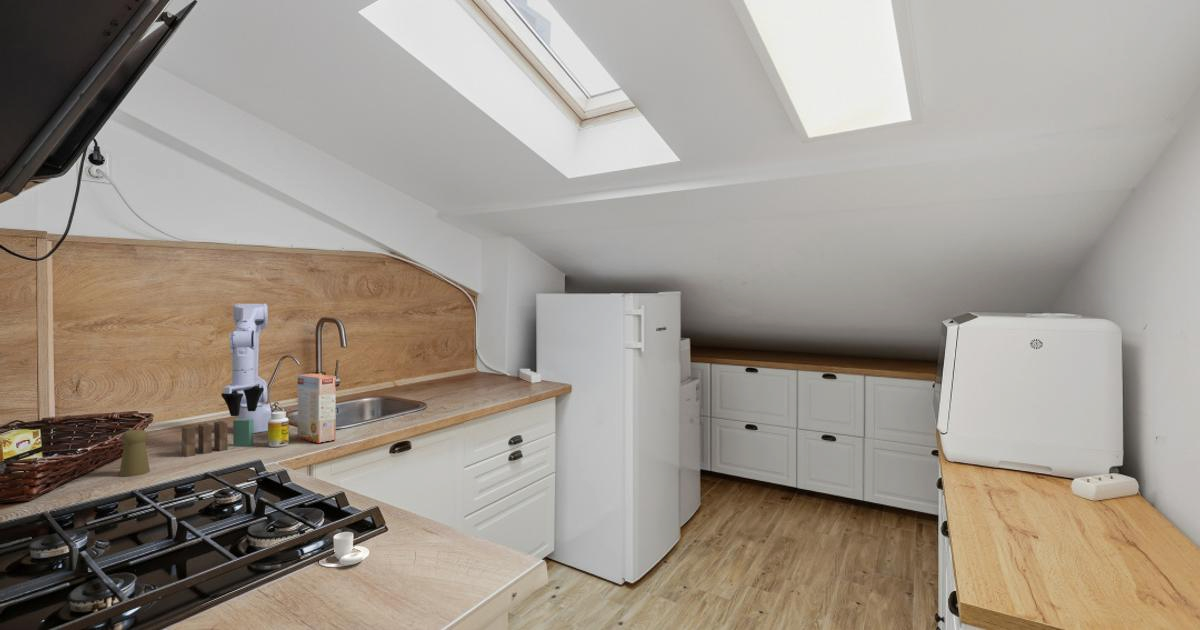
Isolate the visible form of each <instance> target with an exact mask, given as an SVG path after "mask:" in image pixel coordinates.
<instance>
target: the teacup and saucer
mask: <svg viewBox="0 0 1200 630" xmlns="http://www.w3.org/2000/svg"><path fill="white" fill-rule="evenodd" d="M332 540H333V549H334V552H335V553H334V556H335V558H336V560H339V563H331V562H329V563H326V562H325V561H319V563H318V564H319V565H321V566H323V567H326V568H342V567H347V566H351V565H356V564H358V563H360V562H361V561H364V560H365V559H366V558H368V557H369V555H370V550H369V549H368V548H367V547H365V546H361V545H360V546H359V545H354V533H353V532H351V531H344V532H343V531H342V532H339V533H336V534H335V535H334V536H333V539H332ZM353 546H355V547H353ZM353 548H355V549H358V550H360V551H361V552H359V551H356V552H353V550H352V549H353Z"/></svg>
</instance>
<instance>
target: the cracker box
mask: <svg viewBox="0 0 1200 630" xmlns="http://www.w3.org/2000/svg"><path fill="white" fill-rule="evenodd" d="M336 378H337V376H335V375H327V374H321V373H314V372H313V373H304V374H298V375H297V438H298V439H301V440H304V439H306V440H305V441H308V440H310V441H309V442H311V441H313V442H312V443H315V442H316V444H318V443H319V444H322V443H321V442H324V441H330V440H335V441H336V417H337V415H336V413H337V411H336V398H337V397H336V396H337V395H336V392H337V390H336V389H337V388H336V387H337V379H336ZM330 442H331V441H330Z"/></svg>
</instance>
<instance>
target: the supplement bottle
mask: <svg viewBox="0 0 1200 630" xmlns="http://www.w3.org/2000/svg"><path fill="white" fill-rule="evenodd" d="M286 413H287V412H286V411H283V410H282V411H281V410H280V411H278V410H277V411H273V412H272V411H271V419H269V420H268V431H267V446H269V447H270V448H279V447H280V448H281V447H285V446H287V445H288V444H289V442H290V441H289V440H290V439H289V437H290V435H289V433H290V432H289V430H290V429H289V424H290V423H289V421H290V420H289V418H288V417H287V414H286Z"/></svg>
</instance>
